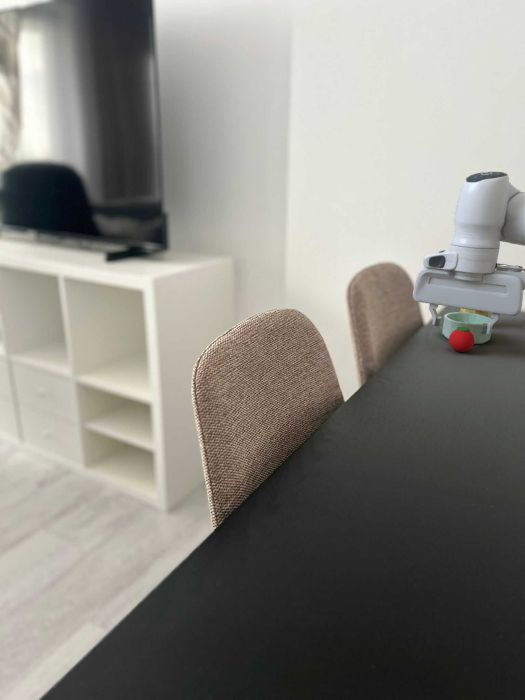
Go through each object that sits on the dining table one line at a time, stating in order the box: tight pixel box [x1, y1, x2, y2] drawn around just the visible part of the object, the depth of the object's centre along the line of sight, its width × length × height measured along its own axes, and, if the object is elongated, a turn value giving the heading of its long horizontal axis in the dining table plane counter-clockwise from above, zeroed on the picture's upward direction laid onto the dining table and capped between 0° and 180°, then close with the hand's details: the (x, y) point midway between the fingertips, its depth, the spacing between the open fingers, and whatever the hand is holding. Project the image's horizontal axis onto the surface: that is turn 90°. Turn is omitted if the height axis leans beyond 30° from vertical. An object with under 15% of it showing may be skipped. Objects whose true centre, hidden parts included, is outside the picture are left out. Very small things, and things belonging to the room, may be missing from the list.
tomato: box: [448, 327, 475, 353], centre depth 104 cm, size 5×5×5 cm
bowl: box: [441, 311, 494, 345], centre depth 113 cm, size 10×10×4 cm
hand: (460, 329), depth 103 cm, fingers open, 8 cm apart
